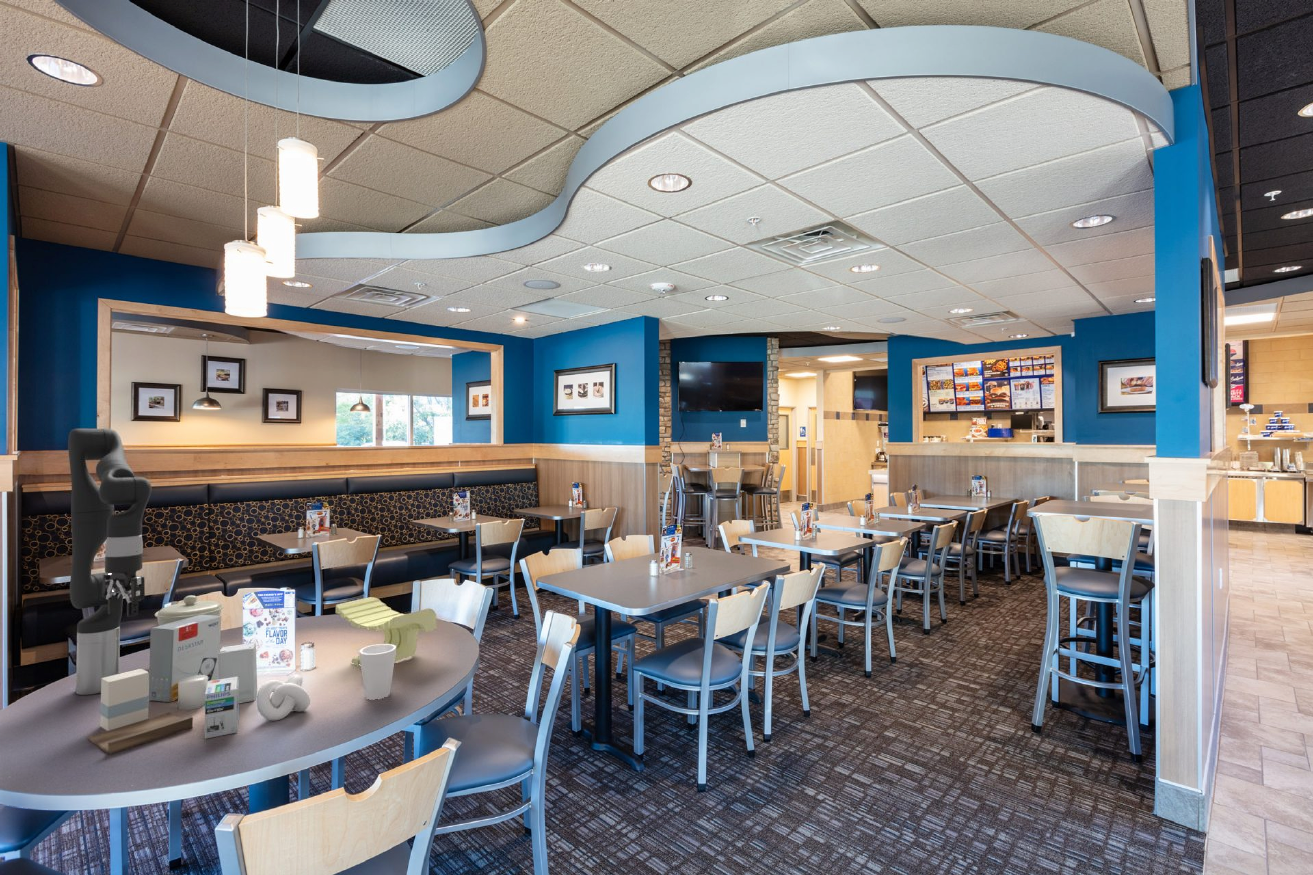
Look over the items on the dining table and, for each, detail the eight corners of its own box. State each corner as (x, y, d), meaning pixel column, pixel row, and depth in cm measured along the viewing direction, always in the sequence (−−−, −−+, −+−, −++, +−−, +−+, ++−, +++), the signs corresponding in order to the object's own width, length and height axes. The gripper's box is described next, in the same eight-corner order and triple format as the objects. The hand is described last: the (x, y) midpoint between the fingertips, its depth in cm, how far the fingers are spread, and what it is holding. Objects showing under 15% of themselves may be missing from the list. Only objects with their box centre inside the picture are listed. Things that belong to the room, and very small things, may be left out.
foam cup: (403, 692, 176) (403, 646, 176) (376, 704, 167) (376, 656, 168) (379, 686, 180) (379, 642, 180) (351, 698, 171) (352, 651, 172)
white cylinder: (173, 706, 166) (174, 680, 166) (201, 698, 171) (201, 673, 171) (183, 712, 162) (184, 685, 163) (211, 703, 168) (212, 677, 168)
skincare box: (257, 694, 174) (258, 641, 175) (254, 702, 169) (255, 647, 169) (221, 699, 171) (222, 645, 171) (217, 707, 165) (218, 651, 166)
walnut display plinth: (88, 739, 147) (88, 728, 147) (169, 714, 161) (169, 704, 161) (109, 754, 140) (109, 743, 140) (192, 727, 153) (192, 717, 153)
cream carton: (100, 726, 154) (101, 678, 154) (140, 714, 161) (141, 668, 161) (107, 731, 151) (108, 682, 152) (148, 719, 158) (149, 672, 158)
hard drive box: (169, 703, 168) (171, 629, 168) (147, 701, 170) (148, 628, 170) (220, 682, 183) (221, 614, 184) (199, 680, 185) (200, 613, 185)
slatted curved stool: (435, 660, 202) (436, 606, 203) (393, 675, 189) (393, 617, 189) (378, 645, 218) (378, 594, 218) (335, 658, 204) (335, 604, 204)
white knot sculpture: (262, 708, 165) (262, 674, 165) (313, 701, 170) (313, 668, 170) (253, 725, 155) (254, 689, 155) (308, 717, 159) (308, 682, 159)
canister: (148, 660, 202) (149, 596, 202) (214, 647, 216) (215, 586, 216) (161, 673, 190) (162, 605, 190) (230, 658, 204) (231, 594, 204)
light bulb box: (237, 732, 151) (238, 688, 151) (203, 739, 147) (204, 694, 147) (238, 716, 160) (239, 675, 160) (206, 723, 156) (207, 680, 156)
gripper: (156, 552, 163) (155, 614, 163) (125, 549, 169) (123, 608, 169) (123, 557, 157) (121, 621, 156) (91, 553, 162) (89, 615, 162)
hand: (122, 614), depth 162 cm, fingers open, 8 cm apart
